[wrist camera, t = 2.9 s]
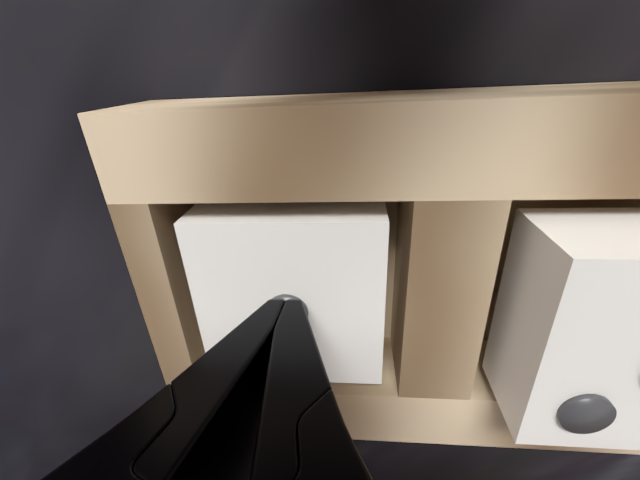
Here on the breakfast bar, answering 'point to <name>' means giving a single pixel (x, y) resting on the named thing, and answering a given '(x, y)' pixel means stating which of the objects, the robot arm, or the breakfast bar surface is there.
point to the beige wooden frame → (402, 208)
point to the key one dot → (293, 273)
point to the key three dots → (569, 329)
